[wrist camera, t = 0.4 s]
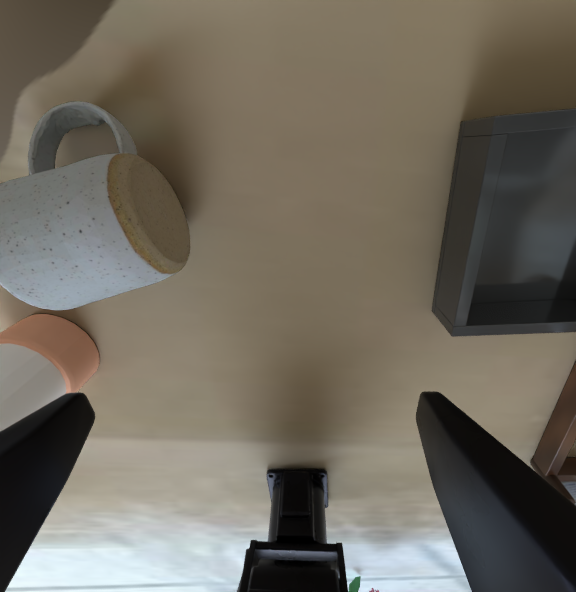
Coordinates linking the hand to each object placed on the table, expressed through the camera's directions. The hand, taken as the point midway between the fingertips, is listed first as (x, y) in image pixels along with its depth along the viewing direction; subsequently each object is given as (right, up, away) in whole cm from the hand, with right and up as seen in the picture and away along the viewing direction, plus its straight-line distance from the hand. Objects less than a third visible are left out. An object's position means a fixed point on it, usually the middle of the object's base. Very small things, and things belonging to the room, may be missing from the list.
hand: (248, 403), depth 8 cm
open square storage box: (+17, +8, +12) cm, 22 cm away
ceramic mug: (-10, +9, +12) cm, 19 cm away
